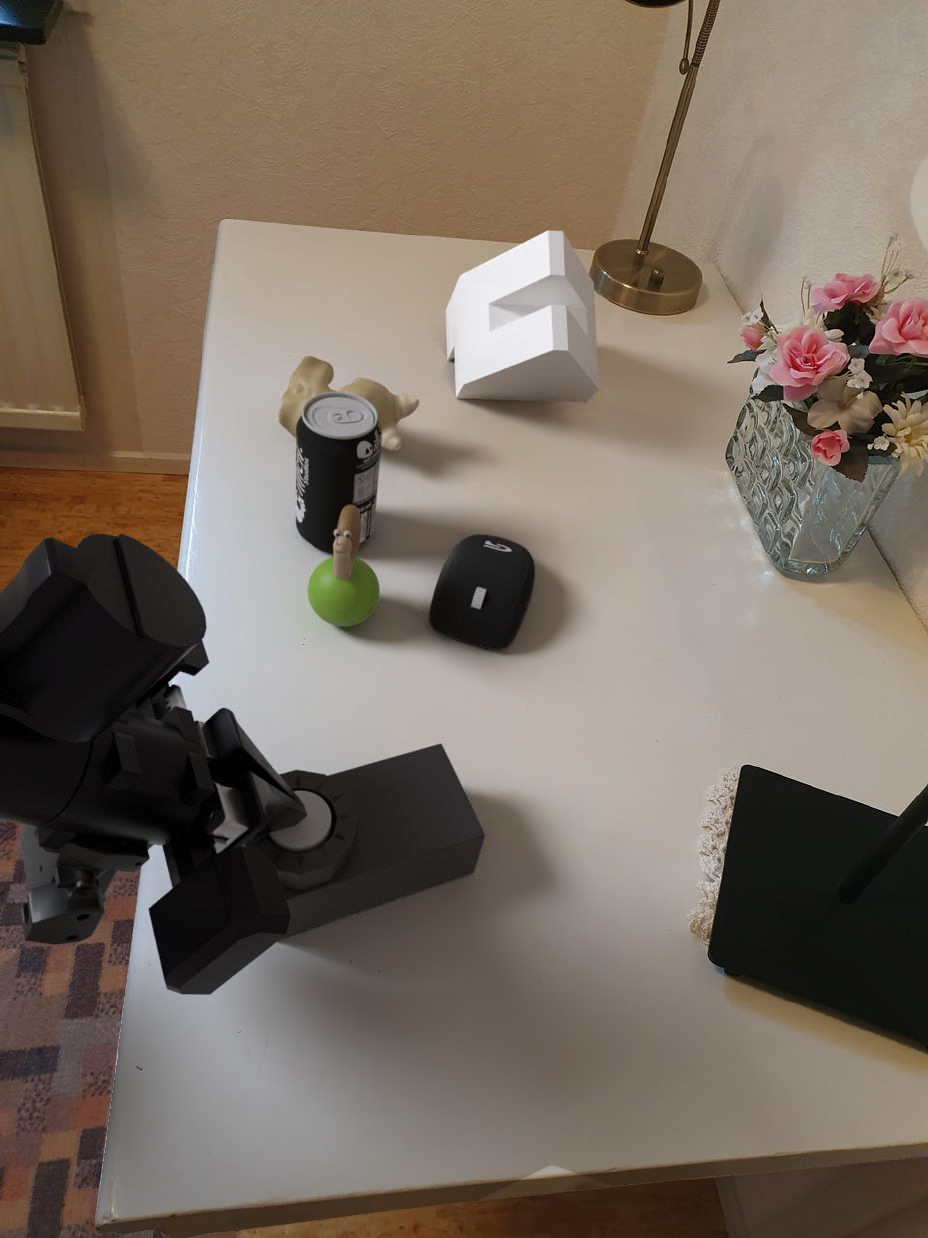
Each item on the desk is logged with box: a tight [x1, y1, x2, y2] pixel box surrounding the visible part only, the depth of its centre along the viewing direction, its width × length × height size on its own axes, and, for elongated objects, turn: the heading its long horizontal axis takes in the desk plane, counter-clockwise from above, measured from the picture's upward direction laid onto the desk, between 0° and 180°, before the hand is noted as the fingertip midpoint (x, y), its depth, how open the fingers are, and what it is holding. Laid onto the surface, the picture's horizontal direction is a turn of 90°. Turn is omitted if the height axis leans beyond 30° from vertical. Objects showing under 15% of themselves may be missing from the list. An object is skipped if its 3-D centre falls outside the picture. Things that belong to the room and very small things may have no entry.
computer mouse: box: [428, 533, 536, 650], centre depth 75 cm, size 8×12×4 cm, turn 164°
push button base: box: [243, 743, 486, 941], centre depth 56 cm, size 14×7×7 cm, turn 114°
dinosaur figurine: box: [278, 355, 420, 451], centre depth 85 cm, size 8×7×12 cm
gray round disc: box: [267, 791, 331, 854], centre depth 53 cm, size 4×4×2 cm
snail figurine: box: [307, 505, 381, 627], centre depth 68 cm, size 5×6×12 cm
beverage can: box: [295, 392, 382, 553], centre depth 75 cm, size 7×7×12 cm
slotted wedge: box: [445, 229, 600, 403], centre depth 92 cm, size 14×11×18 cm
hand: (300, 814), depth 52 cm, fingers closed, pressing on gray round disc
